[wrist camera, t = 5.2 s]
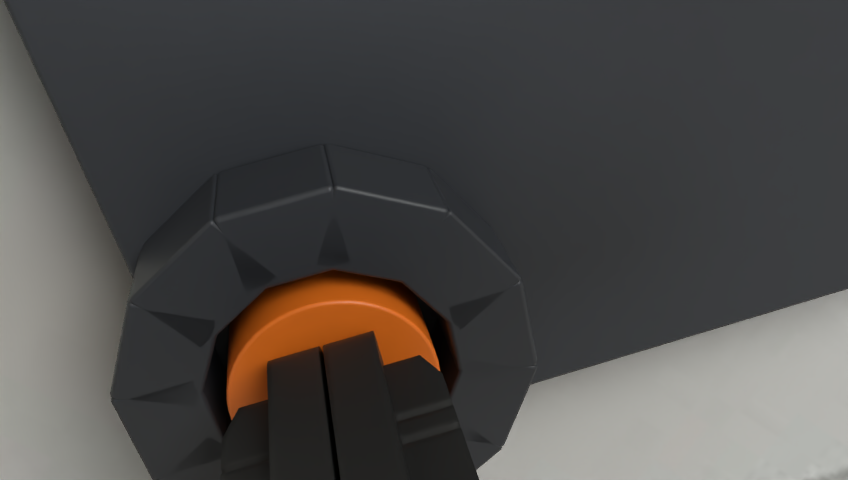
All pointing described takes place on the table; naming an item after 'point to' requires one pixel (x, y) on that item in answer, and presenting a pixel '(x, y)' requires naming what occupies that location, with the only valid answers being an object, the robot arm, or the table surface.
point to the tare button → (321, 326)
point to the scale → (449, 178)
